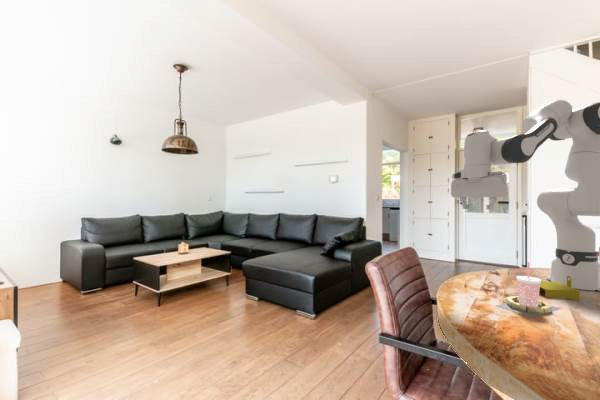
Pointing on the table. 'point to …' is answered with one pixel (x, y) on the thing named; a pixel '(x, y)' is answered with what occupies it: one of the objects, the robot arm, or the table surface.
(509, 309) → the board
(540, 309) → the socket
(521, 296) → the beverage cup
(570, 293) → the bracket
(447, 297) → the table surface
